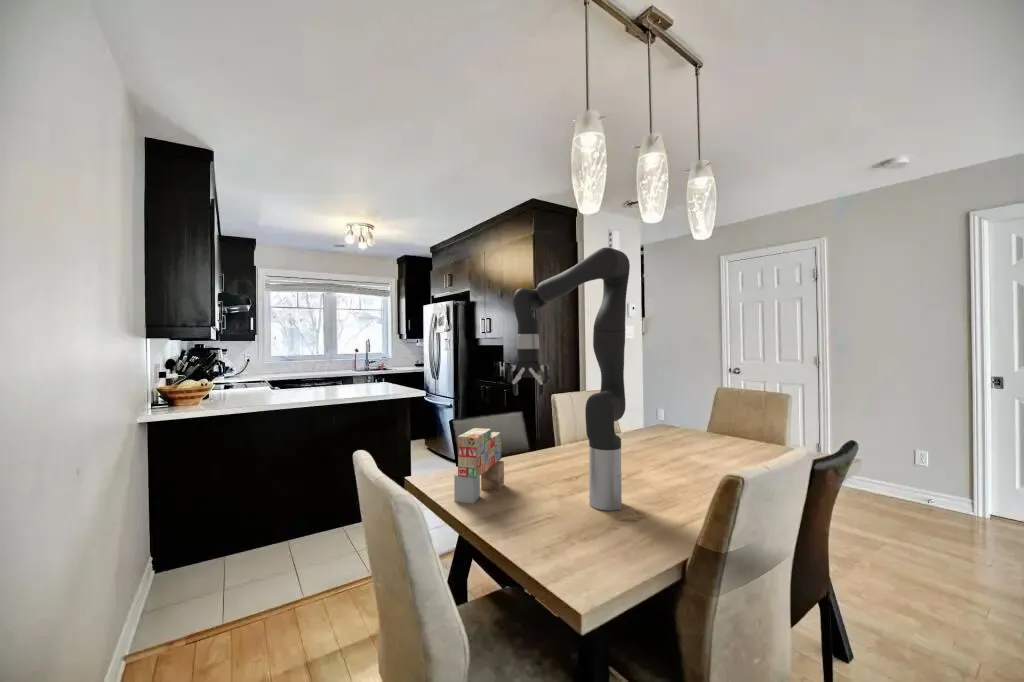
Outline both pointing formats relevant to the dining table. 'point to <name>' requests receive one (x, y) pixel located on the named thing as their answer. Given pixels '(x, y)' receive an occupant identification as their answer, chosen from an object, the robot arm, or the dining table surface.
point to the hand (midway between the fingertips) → (528, 395)
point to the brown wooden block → (493, 477)
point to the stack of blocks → (478, 451)
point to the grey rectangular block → (466, 489)
